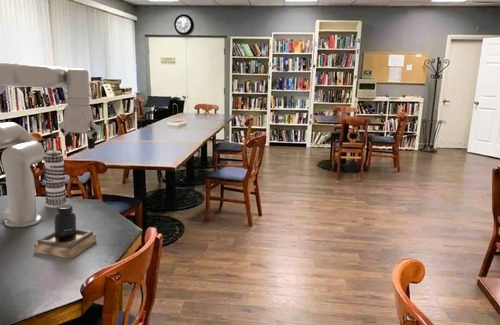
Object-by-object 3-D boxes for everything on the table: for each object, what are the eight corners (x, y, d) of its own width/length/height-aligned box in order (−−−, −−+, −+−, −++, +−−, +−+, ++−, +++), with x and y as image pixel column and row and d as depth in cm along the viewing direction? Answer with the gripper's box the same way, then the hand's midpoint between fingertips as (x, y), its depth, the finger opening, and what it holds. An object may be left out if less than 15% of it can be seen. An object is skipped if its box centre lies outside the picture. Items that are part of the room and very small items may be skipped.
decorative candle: (71, 202, 179) (69, 150, 173) (60, 208, 169) (57, 154, 164) (53, 200, 179) (50, 148, 174) (40, 206, 170) (37, 152, 165)
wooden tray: (34, 252, 129) (33, 240, 128) (62, 236, 142) (61, 225, 141) (71, 258, 126) (71, 246, 125) (96, 241, 140) (95, 230, 139)
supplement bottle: (68, 244, 130) (66, 210, 127) (50, 241, 131) (48, 208, 128) (80, 236, 136) (79, 204, 134) (63, 233, 137) (62, 202, 135)
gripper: (51, 101, 140) (53, 146, 143) (93, 104, 137) (94, 151, 140) (64, 100, 147) (66, 143, 151) (105, 103, 144) (106, 147, 147)
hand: (80, 147), depth 145 cm, fingers open, 9 cm apart
